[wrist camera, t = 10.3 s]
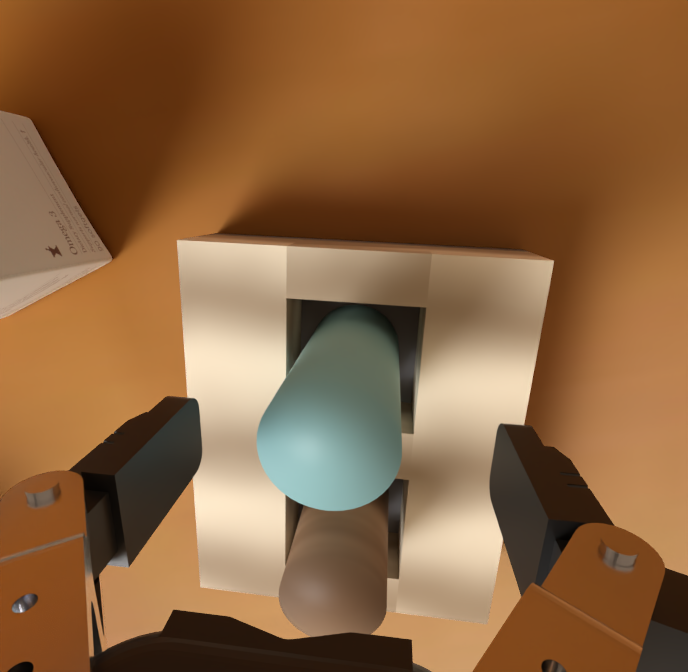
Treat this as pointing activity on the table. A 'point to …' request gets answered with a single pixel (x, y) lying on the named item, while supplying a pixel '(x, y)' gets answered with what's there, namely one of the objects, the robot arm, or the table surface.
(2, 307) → the supplement box
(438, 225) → the table surface
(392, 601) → the peg board
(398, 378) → the teal pin
